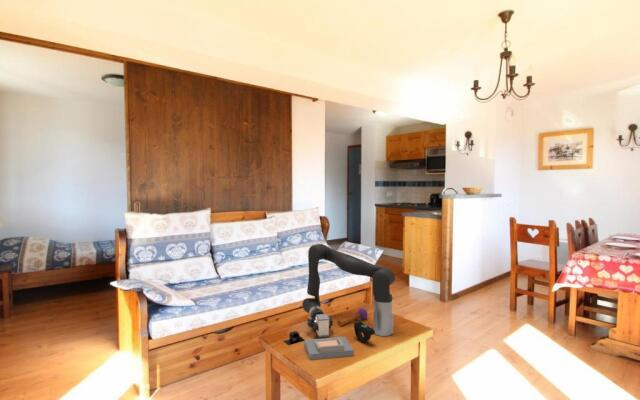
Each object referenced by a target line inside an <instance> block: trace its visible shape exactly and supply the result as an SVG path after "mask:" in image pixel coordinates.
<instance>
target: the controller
mask: <svg viewBox="0 0 640 400" xmlns="http://www.w3.org/2000/svg"><path fill="white" fill-rule="evenodd" d="M356 320H357V321H355V322H353V328H354V333H355V337H356V338H357V340H358V341H360V342H362V343H366V342H368V341H370V340H371V338H372V336H373V335H374V334H375V331H374V328H373V327H370V326H369V325H367V324H365V323H364V322H362V319H356Z"/></svg>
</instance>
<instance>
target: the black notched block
mask: <svg viewBox="0 0 640 400" xmlns="http://www.w3.org/2000/svg"><path fill="white" fill-rule="evenodd" d="M288 335H289V339H286V340H285V339H284V340H282V341H283V343H285V345H287V346H291V345H295V344H298V343H302V342H305V340H306V339H304V338H303V337H301V336H300V332H299V331H297V330H294V331H291V332H289V334H288Z"/></svg>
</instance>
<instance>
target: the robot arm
mask: <svg viewBox="0 0 640 400" xmlns="http://www.w3.org/2000/svg"><path fill="white" fill-rule="evenodd" d="M307 251H308V253H307V255H308V256H307V258H308V260H307V261H308V281H307V289H306V290H307V291H306V293H307V295H309V296H310V297H311V296H312V297H313V298H312V297H311V298H310V297H306V298H305V299H303V301H302V309H303V310H304V312H306V313H307V314H308V315H309V318H306V325H308V326H309V328H314V329H315V330H317V331H318V324H317V317H316V315H319V314H325V312H324V311H323V309H322V308H321V299H320V287H321V277H320V274H319V262H320V261H321V260H324V261H328V262H331V263H333V264H334V265H335V266H336V267H337V268H338V269H340V270H341V271H343V272H346V273H347V274H348V273H349V274H351V275H356V276H363V277H369V278H371V279H372V295H373V329H374V331H375V333H374V334H375V335H377V336H380V337H388V336H391V335H393V334H394V315H393V295H392V293H391V292H390V286H391V285H393V283H394V282H395V280H396V275H395V273H394V272H393V271H392V270H391V269H390V268H388V267H384V266H380V265H376V264H373V263H371V262H368V261H366V260H364V259H360V258H358V257H355V256H353V255H350V254H347V253H344V252H342V251H338V250H336V249H333V248H331V247H330V246H328V245H326V244H325V243H324V244H323V243H316V244H312V245H311V246H310V247H308V250H307ZM333 323H334V319H333V316H330V317H329V331H330V330H331V329H332V327H333V325H334V324H333Z"/></svg>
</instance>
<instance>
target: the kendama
mask: <svg viewBox="0 0 640 400" xmlns="http://www.w3.org/2000/svg"><path fill="white" fill-rule="evenodd" d="M367 317H368V311H367V310H366V309H365V308H359V309H358V310H357V311H356V312H355V313H354V314H353V316H351V317H346V318H344V319H338V321H337V324H338V326H339V327H343V326H344V325H346V324H347V323H349V322H352V320H357V319H361V320H366V319H367Z"/></svg>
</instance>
